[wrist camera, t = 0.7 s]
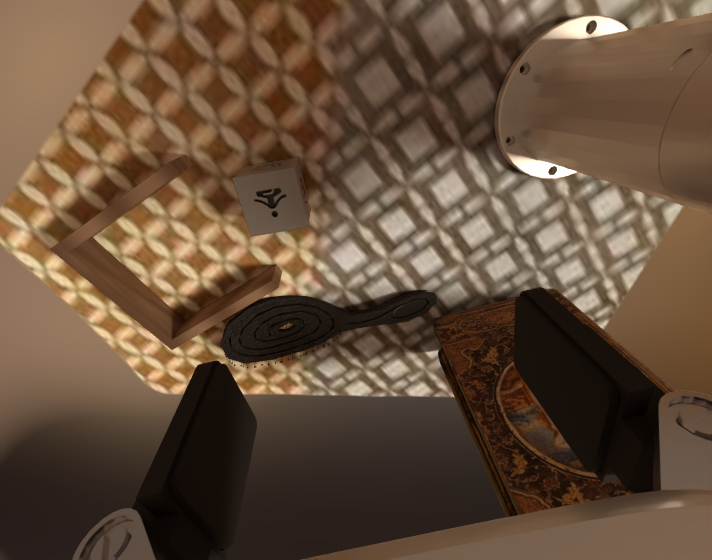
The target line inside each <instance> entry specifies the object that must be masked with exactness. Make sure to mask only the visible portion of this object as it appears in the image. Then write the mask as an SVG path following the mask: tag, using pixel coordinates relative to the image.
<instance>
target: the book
mask: <svg viewBox="0 0 712 560" xmlns="http://www.w3.org/2000/svg"><path fill="white" fill-rule="evenodd" d="M546 291H547V292H548V293H550V294H551V295H552V296H553V297H554V298H555V299H556V300H558V301H559V302H560V303H561V304H562V305H563V306H564V307H565V308H567V309H568V310H569V311H570V312H571V313H572V314H573V315H574V316H576V317H577V318H578V319H579V320H580V321H581V322H582V323H583V324H586V325H588V326H589V327H590V328H592V329H593V330H594V331H595V332H596V333H597V334H598V335H600V336H601V337H602V338H603V339H604V340H605V341H606V342H607V343H609V344H610V345H611V346H612V347H613V348H614V349H615V350H617V351H618V352H619V353H620V354H621V355H622V356H623V357H625V358H626V359H627V360H628V361H629V362H630V363H631V364H633V365H634V366H635V367H636V368H637V369H638V370H639V371H640V372H642V373H643V374H644V375H645V376H646V377H647V378H648V379H650V380H651V381H652V382H653V383H654V384H655V385H656V386H658V387H659V388H660V389H661V390H662V391H663V392H664V393H670V392H673V391H674V390H673V389H672V388H671V387H669V386H668V385H667V384H666V383H665V382H664V381H662V380H661V379H660V378H659V377H658V376H656V375H655V374H654V373H653V372H652V371H651V370H650V369H648V368H647V367H646V366H645V365H644V364H643V363H641V362H640V361H639V360H638V359H637V358H636V357H634V356H633V355H632V354H631V353H630V352H628V351H627V350H626V349H625V348H624V347H623V346H622V345H620V344H619V343H618V342H617V341H616V340H615V339H613V338H612V337H611V336H610V335H609V334H608V333H606V332H605V331H604V330H603V329H602V328H601V327H599V326H598V325H597V324H596V323H595V322H594V321H592V320H591V319H590V318H589V317H588V316H587V315H585V314H584V313H583V312H582V311H581V310H580V309H578V308H577V307H576V306H575V305H574V304H573V303H571V302H570V301H569V300H568V299H567V298H566V297H564V296H563V295H562V294H561V293H560V292H559V291H557V290H556V289H550V290H546ZM515 300H516V298H513V299H509V300H505V301H501V302H497V303H493V304H489V305H485V306H481V307H477V308H473V309H468V310H464V311H460V312H457V313H453V314H449V315H446V316H442V317H439V318H436V319H435V320H434V322H433V325H434V330H435V333H436V335H437V337H438V339H439V341H440V344H441V346H442V348H441V349H440V350H439V352H438V356H439V361H440V364H441V366H442V369H443V371H444V373H445V376H446V378H447V380H448V383H449V385H450V387H451V390H452V392H453V394H454V396H455V399H456V401H457V403H458V406H459V408H460V410H461V412H462V415H463V417H464V420H465V422H466V424H467V426H468V429H469V431H470V434H471V436H472V438H473V440H474V443H475V445H476V447H477V450H478V452H479V454H480V457H481V459H482V461H483V463H484V466H485V468H486V471H487V473H488V475H489V478H490V480H491V482H492V484H493V487H494V489H495V491H496V494H497V496H498V498H499V501H500V503H501V505H502V508H503V510H504V512H505V515H506V517H512V516H517V515H522V514H527V513H532V512H537V511H542V510H547V509H552V508H557V507H562V506H567V505H573V504H578V503H584V502H590V501H595V500H601V499H606V498H612V497H617V496H623V495H629V494H630V491H629V490H627V489H626V488H625V486H624V485H623V484H622V482H621V481H620V480H618V481H613V482H608V483H604V484H602V483H601V481H600V480H599V479H598V477H597V476H596V474H595V473H594V472H589V471H587V470H586V469H585V468H584V467H583V465H582V464H581V462H580V461H579V460H578V458H577V457H576V455H575V454H574V452H573V451H572V449H571V448H570V447H569V445H568V444H567V442H566V441H565V439H564V438H563V437H562V435H561V434H560V432H559V431H558V429H557V428H556V427H555V425H554V424H553V422H552V421H551V419H550V418H549V416H548V415H547V414H546V412H545V411H544V409H543V408H542V406H541V405H540V404H539V402H538V401H537V399H536V398H535V396H534V395H533V393H532V392H531V391H530V389H529V388H528V386H527V385H526V383H525V382H524V381H523V379H522V378H521V376H520V375H519V373H518V372H517V370H516V368H515V366H514V362H513V353H514V323H515Z"/></svg>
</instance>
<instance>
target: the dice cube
mask: <svg viewBox="0 0 712 560" xmlns="http://www.w3.org/2000/svg"><path fill="white" fill-rule="evenodd" d="M232 180H233V183H234V186H235V189H236V192H237V195H238V198H239V201H240V204H241V207H242V210H243V213H244V216H245V219H246V222H247V225H248V229H249V232H250V235H251V237H252V236H258V235H264V234H270V233H276V232H281V231H287V230H293V229H299V228H305V227H308V226H309V218H310V210H311V209H310V205H309V200H308V196H307V191H306V187H305V182H304V178H303V173H302V168H301V164H300V159H299V157H296V158H290V159H284V160H278V161H272V162H266V163H260V164H255V165H249V166H245V167H244V168H242V169H241V170H240V171H239V172H238V173H237V174H236V175H235V176H234V177H233V178H232Z"/></svg>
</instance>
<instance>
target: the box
mask: <svg viewBox="0 0 712 560" xmlns="http://www.w3.org/2000/svg"><path fill="white" fill-rule="evenodd" d="M193 165H194V164H193V163H192V162H191V160H190V159H189V158H188V157H187V156H186V155H184V156H182V157H180V158H177V159H175V160H173V161H171V162H169V163H168V164H166V165H165V166H164V167H162V168H161V169H159V170H158V171H157V172H155V173H154V174H153V175H151V176H150V177H149V178H147V179H146V180H144V181H143V182H142V183H140V184H139V185H138V186H136V187H135V188H133V189H132V190H131V191H129V192H128V193H127V194H125V195H124V196H122V197H121V198H120V199H118V200H117V201H116V202H114V203H113V204H112V205H110V206H109V207H107V208H106V209H105V210H103V211H102V212H101V213H99V214H98V215H96V216H95V217H94V218H92V219H91V220H90V221H88V222H87V223H85V224H84V225H83V226H81V227H80V228H79V229H77V230H76V231H74V232H73V233H72V234H70V235H69V236H68V237H66V238H65V239H64V240H62V241H61V242H59V243H58V244H57V245H55V246H54V247H53V248H51V250H52V251H53V252H54V253H55V254H57V255H58V256H59V257H60V258H61V259H63V260H64V261H65V262H66V263H67V264H69V265H70V266H71V267H72V268H73V269H75V270H76V271H77V272H78V273H80V274H81V275H82V276H83V277H84V278H86V279H87V280H88V281H89V282H90V283H92V284H93V285H94V286H95V287H96V288H98V289H99V290H100V291H101V292H102V293H104V294H105V295H106V296H107V297H108V298H110V299H111V300H112V301H113V302H115V303H116V304H117V305H118V306H119V307H121V308H122V309H123V310H124V311H125V312H127V313H128V314H129V315H130V316H131V317H133V318H134V319H135V320H136V321H137V322H139V323H140V324H141V325H142V326H143V327H145V328H146V329H147V330H148V331H150V332H151V333H152V334H153V335H154V336H156V337H157V338H158V339H159V340H160V341H162V342H163V343H164V344H165V345H166V346H168V347H169V348H170V349H171V350H173V349H175V348H176V347H178V346H180V345H181V344H183V343H185V342H187V341H188V340H190V339H192V338H193V337H195V336H197V335H199V334H200V333H202V332H204V331H205V330H207V329H209V328H211V327H212V326H214V325H216V324H217V323H219V322H221V321H223V320H224V319H226V318H228V317H229V316H231V315H233V314H234V313H236V312H238V311H240V310H241V309H243V308H245V307H246V306H248V305H250V304H252V303H253V302H255V301H257V300H258V299H260V298H262V297H264V296H265V295H267V294H269V293H270V292H272V291H274V290H276V289H277V288H278V287H279V282H280V278H281V274H282V271H281V269H280V268H279V267H278V266H277V265H275V266H273V267H271V268H270V269H268V270H266V271H265V272H263V273H261V274H260V275H258V276H256V277H255V278H253V279H251V280H250V281H248V282H246V283H245V284H243V285H242V286H240V287H238V288H237V289H235V290H233V291H232V292H230V293H228V294H227V295H225V296H223V297H222V298H220V299H218V300H217V301H215V302H213V303H212V304H210V305H208V306H207V307H205V308H203V309H202V310H200V311H198V312H197V313H195V314H193V315H192V316H190V317H188V318H187V319H185V320H183V319H182V318H181V317H180V316H179V315H178V314H177V313H176V312H175V311H173V310H172V309H171V308H170V307H169V306H168V305H167V304H166V303H165V302H163V301H162V300H161V299H160V298H159V297H158V296H157V295H156V294H155V293H154V292H152V291H151V290H150V289H149V288H148V287H147V286H146V285H145V284H144V283H142V282H141V281H140V280H139V279H138V278H137V277H136V276H135V275H134V274H132V273H131V272H130V271H129V270H128V269H127V268H126V267H125V266H124V265H122V264H121V263H120V262H119V261H118V260H117V259H116V258H115V257H114V256H113V255H111V254H110V253H109V252H108V251H107V250H106V249H105V248H104V247H103V246H101V245H100V244H99V243H98V242H97V241H96V240H95V239H94V238H93V237H94V236H95V235H96V234H98V233H99V232H101V231H102V230H103V229H105V228H106V227H108V226H109V225H110V224H112V223H113V222H115V221H116V220H117V219H119V218H120V217H122V216H123V215H124V214H126V213H127V212H129V211H130V210H131V209H133V208H134V207H136V206H137V205H138V204H140V203H141V202H143V201H144V200H145V199H147V198H148V197H150V196H151V195H152V194H154V193H155V192H157V191H158V190H159V189H161V188H162V187H164V186H165V185H166V184H168V183H169V182H171V181H172V180H173V179H175V178H176V177H178V176H179V175H180V174H182V173H183V172H185V171H186V170H187V169H189V168H190V167H192V166H193Z"/></svg>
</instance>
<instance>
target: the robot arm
mask: <svg viewBox="0 0 712 560" xmlns="http://www.w3.org/2000/svg"><path fill="white" fill-rule="evenodd" d="M520 67H522V71H521V72H520ZM494 124H495V135H496V139H497V142H498V146H499V148H500V150H501V152H502V154H503V156H504V158H505V159H506V160H507V161H508V162H509V163H510V164H511V166H513V167H514V168H516V169H517V170H519V171H520V172H522V173H524V174H527V175H529V176H532V177H536V178H540V179H555V178H561V177H566V176H569V175H571V174H574V173H577V172H579V173H583V174H586V175H589V176H592V177H595V178H598V179H601V180H605V181H608V182H611V183H614V184H617V185H620V186H623V187H627V188H630V189H633V190H636V191H639V192H642V193H646V194H649V195H652V196H655V197H658V198H661V199H664V200H668V201H671V202H674V203H677V204H680V205H683V206H687V207H690V208H693V209H696V210H700V211H703V212H706V213H709V214H712V13H709V14H704V15H699V16H694V17H689V18H684V19H679V20H674V21H670V22H665V23H660V24H655V25H650V26H645V27H640V28H635V29H630V30H629V29H628V28H627V27H626V26H625V25H624V24H623V23H621V22H619V21H617V20H615V19H613V18H611V17H607V16H602V15H585V16H580V17H576V18H572V19H568V20H566V21H564V22H561V23H559V24H556V25H554V26H552V27H551V28H549V29H548V30H546V31H544V32H543V33H541V34H540V35H539V36H538V37H536V38H535V39H534V40H533V41H532V42H531V43H530V44H529V45H528V46H526V48H525V49H524V50H523V51H522V53H521V54H520V55H519V56H518V57H517V59H516V60H515V61H514V63H513V65H512V66H511V68H510V70H509V71H508V73H507V75H506V77H505V79H504V82H503V84H502V86H501V89H500V91H499V95H498V99H497V103H496V108H495V119H494ZM507 138H508V141H507V142H506V140H507ZM513 362H514V366H515V368H516V370H517V372H518V373H519V375H520V376H521V378H522V379H523V381H524V382H525V383H526V385H527V386H528V388H529V389H530V391H531V392H532V393H533V395H534V396H535V398H536V399H537V401H538V402H539V404H540V405H541V406H542V408H543V409H544V411H545V412H546V414H547V415H548V416H549V418H550V419H551V421H552V422H553V424H554V425H555V427H556V428H557V429H558V431H559V432H560V434H561V435H562V437H563V438H564V439H565V441H566V442H567V444H568V445H569V447H570V448H571V449H572V451H573V452H574V454H575V455H576V457H577V458H578V460H579V461H580V462H581V464H582V465H583V467H584V468H585V469H586V470H587V471H589V472H594V473H595V474H596V476H597V477H598V479H599V480H600V481H601V483H602V484H604V483H608V482H613V481H618V480H620V481H621V482H622V484H623V485H624V486H625V488H626V489H627V490H629V491H630V494H629V495H623V496H617V497H612V498H606V499H601V500H595V501H590V502H584V503H578V504H573V505H567V506H562V507H557V508H552V509H547V510H542V511H537V512H532V513H527V514H522V515H517V516H512V517H507V518H502V519H497V520H492V521H487V522H482V523H477V524H472V525H467V526H462V527H458V528H452V529H447V530H443V531H438V532H433V533H428V534H423V535H419V536H413V537H409V538H404V539H399V540H394V541H389V542H384V543H380V544H375V545H370V546H365V547H360V548H355V549H350V550H345V551H341V552H336V553H331V554H327V555H322V556H318V557H312V558H308V559H303V560H712V396H708V395H706V394H703V393H699V392H693V391H673V392H670V393H664V392H663V391H662V390H661V389H660V388H659V387H658V386H656V385H655V384H654V383H653V382H652V381H651V380H650V379H648V378H647V377H646V376H645V375H644V374H643V373H642V372H640V371H639V370H638V369H637V368H636V367H635V366H634V365H633V364H631V363H630V362H629V361H628V360H627V359H626V358H625V357H623V356H622V355H621V354H620V353H619V352H618V351H617V350H615V349H614V348H613V347H612V346H611V345H610V344H609V343H607V342H606V341H605V340H604V339H603V338H602V337H601V336H600V335H598V334H597V333H596V332H595V331H594V330H593V329H592V328H590V327H589V326H588V325H586V324H583V323H582V322H581V321H580V320H579V319H578V318H577V317H576V316H574V315H573V314H572V313H571V312H570V311H569V310H568V309H567V308H565V307H564V306H563V305H562V304H561V303H560V302H559V301H558V300H556V299H555V298H554V297H553V296H552V295H551V294H550V293H548V292H547V291H546V290H545V289H544V288H541V287H539V288H535V289H531V290H526V291H522V292H521V294H520V297H517V298H516V300H515V323H514V353H513ZM256 429H257V421H256V418H255V415H254V414H253V412H252V410H251V408H250V407H249V405H248V403H247V401H246V399H245V398H244V396H243V394H242V392H241V390H240V389H239V387H238V385H237V383H236V381H235V380H234V378H233V376H232V374H231V373H230V371H229V369H228V367H227V366H226V365H225V364H221V363H220V362H219V361H212V362H208V363H203V364H199V365H198V366H197V367H196V369H195V371H194V373H193V376H192V378H191V380H190V382H189V384H188V386H187V389H186V391H185V393H184V395H183V397H182V400H181V402H180V404H179V406H178V408H177V410H176V413H175V415H174V417H173V419H172V421H171V423H170V426H169V428H168V430H167V432H166V434H165V436H164V438H163V441H162V443H161V445H160V447H159V449H158V451H157V454H156V456H155V458H154V460H153V462H152V465H151V467H150V469H149V471H148V473H147V475H146V478H145V480H144V482H143V484H142V486H141V488H140V490H139V493H138V495H137V497H136V501H135V503H134V506H133V508H132V509H130V508H129V509H121V510H119V511H116V512H114V513H112V514H110V515H109V516H107V517H106V518H104V519H103V520H102V521H100V522H99V523H98V524H97V525H96V526H95V527H94V528H93V529H92V530H91V531H90V532H89V533H88V534H87V536H86V537H85V538H84V539H83V541H82V542H81V544H80V545H79V547H78V549H77V550H76V552H75V554H74V557H73V560H226V555H227V551H228V548H229V547H231V546H232V545H233V543H234V540H235V535H236V530H237V525H238V520H239V515H240V510H241V504H242V500H243V495H244V490H245V485H246V480H247V474H248V470H249V464H250V460H251V454H252V449H253V444H254V439H255V434H256Z"/></svg>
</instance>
